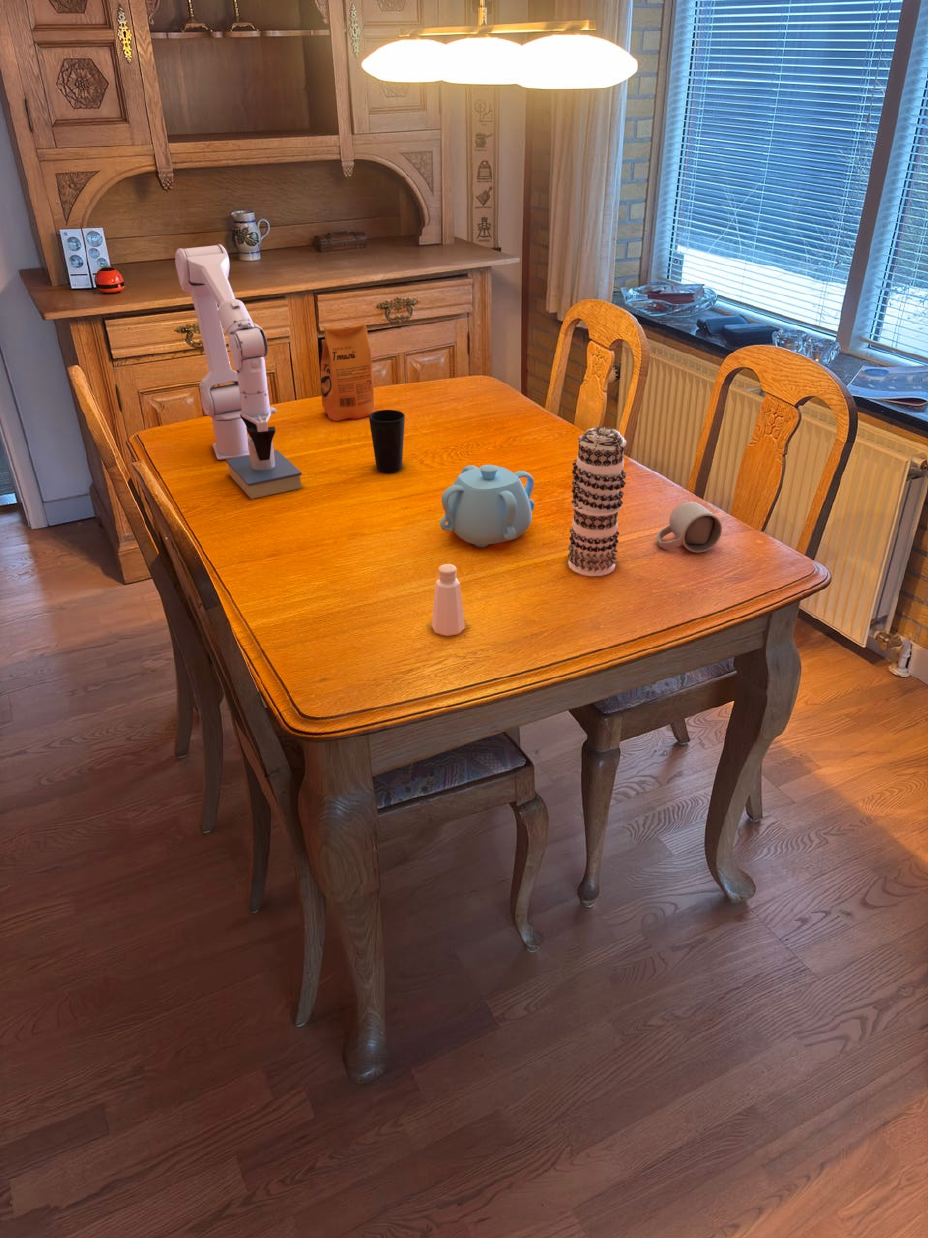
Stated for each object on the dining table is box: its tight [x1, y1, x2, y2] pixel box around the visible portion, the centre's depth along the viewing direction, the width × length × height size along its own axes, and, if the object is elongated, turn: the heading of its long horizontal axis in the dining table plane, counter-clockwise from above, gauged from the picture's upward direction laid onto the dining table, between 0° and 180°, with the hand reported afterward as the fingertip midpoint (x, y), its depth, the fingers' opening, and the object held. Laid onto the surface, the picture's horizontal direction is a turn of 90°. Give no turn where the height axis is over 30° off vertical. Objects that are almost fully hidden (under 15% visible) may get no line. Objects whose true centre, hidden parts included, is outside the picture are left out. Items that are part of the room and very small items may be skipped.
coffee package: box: [320, 322, 376, 422], centre depth 228 cm, size 10×12×22 cm
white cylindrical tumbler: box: [247, 436, 275, 471], centre depth 195 cm, size 5×5×6 cm
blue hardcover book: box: [225, 449, 303, 500], centre depth 197 cm, size 15×12×4 cm
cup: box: [368, 409, 406, 474], centre depth 201 cm, size 8×8×12 cm
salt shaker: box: [431, 563, 466, 637], centre depth 146 cm, size 5×5×11 cm
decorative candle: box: [567, 426, 628, 577], centre depth 160 cm, size 9×9×25 cm
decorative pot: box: [439, 464, 536, 548], centre depth 174 cm, size 16×16×14 cm
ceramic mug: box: [656, 500, 723, 554], centre depth 172 cm, size 11×8×8 cm
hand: (261, 452), depth 195 cm, fingers open, 7 cm apart
